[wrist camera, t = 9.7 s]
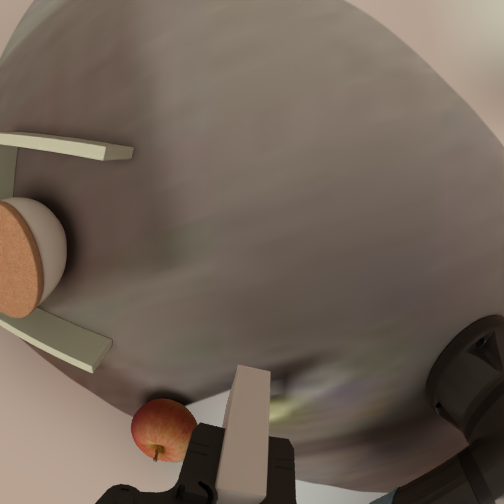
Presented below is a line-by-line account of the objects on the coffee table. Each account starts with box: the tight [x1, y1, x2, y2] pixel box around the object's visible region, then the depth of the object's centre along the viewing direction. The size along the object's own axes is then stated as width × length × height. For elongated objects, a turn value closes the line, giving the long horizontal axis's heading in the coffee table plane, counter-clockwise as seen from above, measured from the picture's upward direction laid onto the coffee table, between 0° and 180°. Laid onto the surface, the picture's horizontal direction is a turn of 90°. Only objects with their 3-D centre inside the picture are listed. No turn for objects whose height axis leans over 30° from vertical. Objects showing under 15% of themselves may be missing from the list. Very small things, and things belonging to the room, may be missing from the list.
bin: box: [0, 131, 134, 373], centre depth 23 cm, size 16×21×5 cm
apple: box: [131, 399, 197, 462], centre depth 28 cm, size 8×8×8 cm
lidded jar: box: [0, 197, 67, 318], centre depth 21 cm, size 11×11×9 cm
